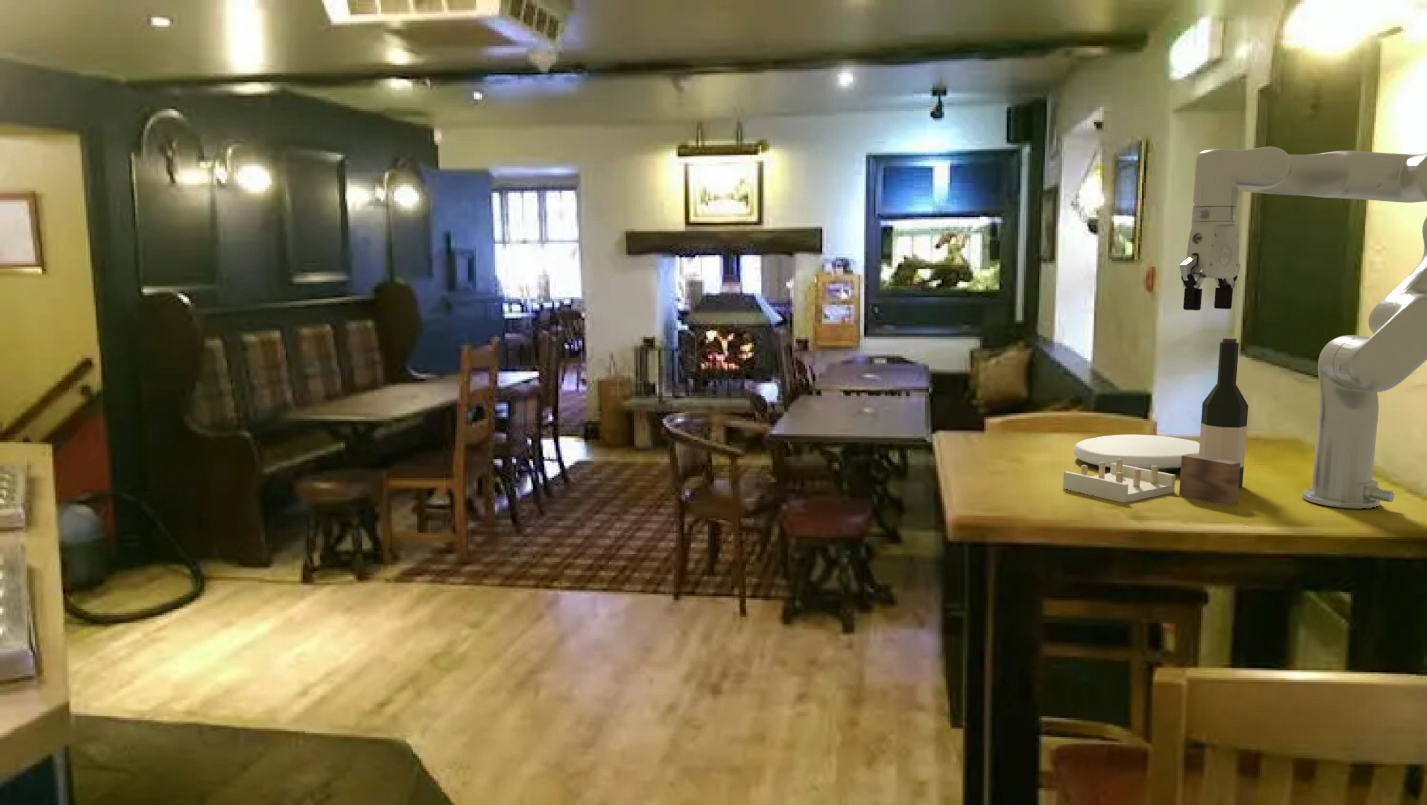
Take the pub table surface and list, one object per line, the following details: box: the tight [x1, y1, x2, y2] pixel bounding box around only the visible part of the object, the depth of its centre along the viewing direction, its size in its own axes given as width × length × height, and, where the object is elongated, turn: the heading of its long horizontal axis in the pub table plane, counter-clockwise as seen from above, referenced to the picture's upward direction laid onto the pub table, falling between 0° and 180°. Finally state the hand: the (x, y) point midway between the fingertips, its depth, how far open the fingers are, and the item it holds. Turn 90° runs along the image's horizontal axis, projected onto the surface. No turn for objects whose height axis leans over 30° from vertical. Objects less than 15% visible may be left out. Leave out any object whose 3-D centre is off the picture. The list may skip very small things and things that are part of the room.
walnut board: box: [1178, 454, 1240, 507], centre depth 194 cm, size 10×3×8 cm, turn 33°
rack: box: [1062, 459, 1176, 504], centre depth 201 cm, size 14×16×5 cm
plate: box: [1073, 434, 1200, 470], centre depth 227 cm, size 28×6×27 cm
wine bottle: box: [1199, 337, 1249, 489], centre depth 205 cm, size 8×8×30 cm
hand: (1207, 309), depth 191 cm, fingers open, 9 cm apart
